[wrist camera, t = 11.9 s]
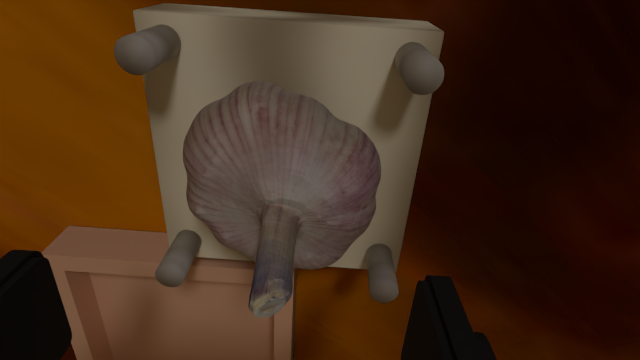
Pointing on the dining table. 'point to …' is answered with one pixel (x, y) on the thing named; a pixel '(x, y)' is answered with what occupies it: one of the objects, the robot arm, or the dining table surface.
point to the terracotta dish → (160, 302)
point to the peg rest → (297, 77)
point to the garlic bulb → (279, 184)
